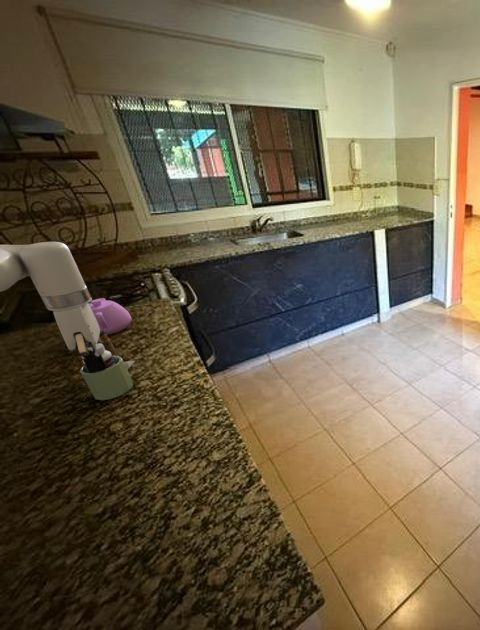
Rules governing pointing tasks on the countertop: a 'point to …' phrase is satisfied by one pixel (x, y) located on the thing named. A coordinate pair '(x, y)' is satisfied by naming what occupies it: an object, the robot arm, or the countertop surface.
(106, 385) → the mug
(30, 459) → the countertop surface
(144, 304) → the countertop surface
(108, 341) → the condiment
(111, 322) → the teapot
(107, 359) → the pill bottle
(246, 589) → the countertop surface
